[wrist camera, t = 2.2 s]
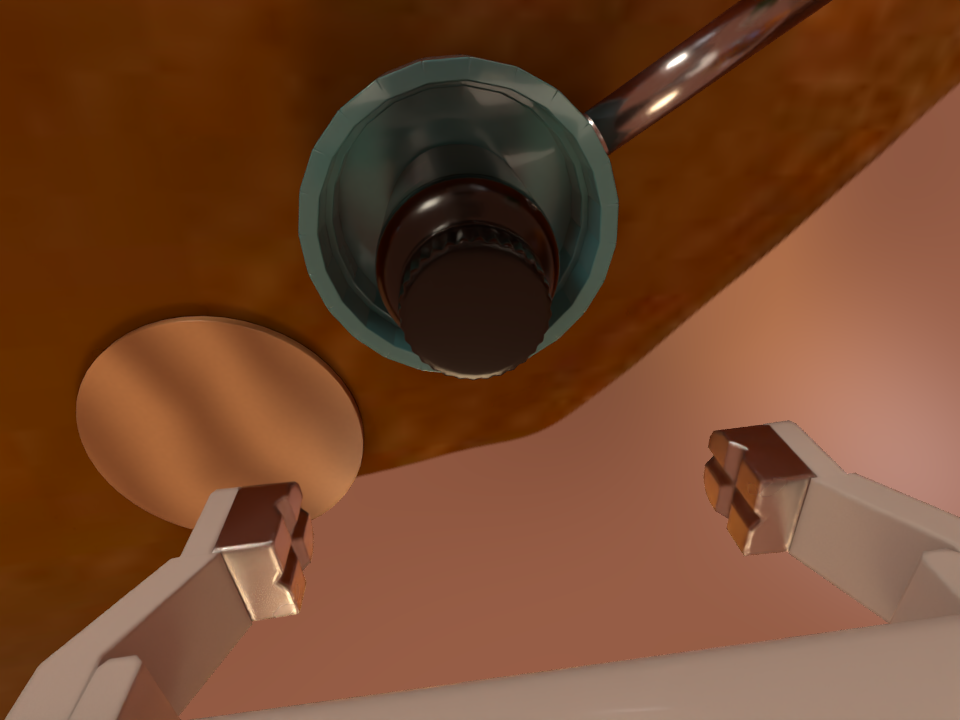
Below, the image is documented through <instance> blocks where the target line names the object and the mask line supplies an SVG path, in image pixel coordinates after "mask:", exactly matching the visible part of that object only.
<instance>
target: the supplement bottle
mask: <svg viewBox="0 0 960 720" xmlns="http://www.w3.org/2000/svg"><path fill="white" fill-rule="evenodd" d="M559 274H560V254H559V247H558V243H557V239H556V236H555V234H554V231H553V229H552V227H551V224H550V222H549V220H548V219H547V217H546V215H545V214H544V212H543V211H542V209H541V208H540V206H539V205H538V204H537V202H536V201H535V199H534V198H533V197H532V195H531V194H530V192H529V191H528V190H527V188H526V187H525V186H524V184H523V183H522V181H521V180H520V179H519V177H518V176H517V175H516V173H515V172H514V171H513V170H512V168H511V167H510V166H509V165H508V164H507V163H506V162H505V161H503V160H502V159H501V158H500V157H498V156H497V155H495V154H494V153H492V152H490V151H488V150H486V149H484V148H481V147H478V146H474V145H469V144H447V145H442V146H438V147H435V148H432V149H430V150H428V151H426V152H424V153H423V154H421V155H419V156H418V157H417V158H415V159H414V160H413V161H412V162H411V163H410V164H409V165H408V166H407V167H406V168H405V169H404V170H403V172H402V173H401V174H400V176H399V178H398V179H397V181H396V183H395V185H394V187H393V190H392V193H391V196H390V199H389V202H388V206H387V210H386V213H385V217H384V221H383V224H382V228H381V232H380V235H379V239H378V244H377V249H376V257H375V276H376V283H377V288H378V291H379V294H380V297H381V299H382V302H383V304H384V306H385V308H386V310H387V311H388V313H389V315H390V316H391V317H392V319H393V320H394V321H395V323H396V324H397V325H398V326H399V327H400V328H401V329H402V331H403V332H404V338H405V341H406V342H407V343H408V344H410V345H411V349H412V352H413V353H415V354H416V355H418V356H419V358H420V360H421V362H423V363H425V364H428V365H429V366H430V367H431V368H432V369H433V370H435V371H441V372H442V373H443V374H444V375H446V376H454V377H456V378H458V379H464V378H468V379H471V380H476V379H479V378H483V379H488V378H491V377H492V376H501V375H502V374H504V373H505V372H506V371H511V370H514V369H515V368H516V367H517V366H518V365H519V364H521V363H524V362H526V360H527V359H528V357H529V356H530V355H532V354H533V353H535V352H536V349H537V346H538V345H539V344H541V343H542V342H543V340H544V334H545V333H546V332H547V330H548V329H549V320H550V318H551V316H552V312H551V308H550V307H551V304H552V300H553V297H554V295H555V292H556V289H557V285H558V281H559Z"/></svg>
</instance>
